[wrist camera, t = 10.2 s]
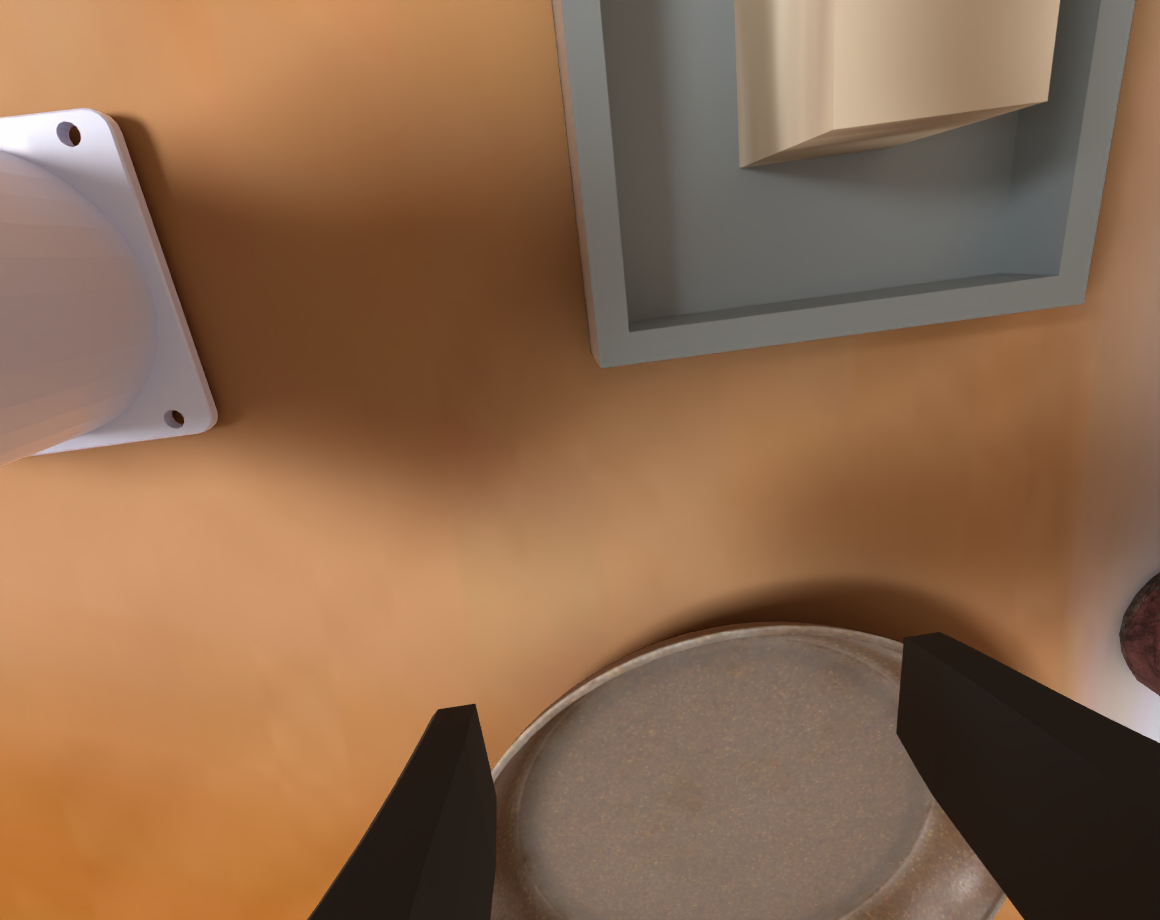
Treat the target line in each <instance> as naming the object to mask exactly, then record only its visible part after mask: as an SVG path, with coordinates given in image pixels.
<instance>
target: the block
mask: <svg viewBox="0 0 1160 920" xmlns="http://www.w3.org/2000/svg"><path fill="white" fill-rule="evenodd" d="M1059 5H1060V0H734V12H735V43H736V74H737V105H738V135H739V166H740V168H745V167H752V166H760V165H767V164H775V163H782V162H789V161H797V160H804V159H812V158H819V157H826V156H834V155H841V154H849V153H856V152H864V151H871V150H878V149H886V148H891V147H894V146H898V145H901V144H904V143H908V142H911V141H915V140H918V139H921V138H925V137H928V136H931V135H935V134H938V133H942V132H945V131H948V130H952V129H955V128H958V127H962V126H965V125H969V124H972V123H975V122H979V121H982V120H985V119H989V118H992V117H995V116H999V115H1002V114H1006V113H1009V112H1012V111H1016V110H1019V109H1022V108H1026V107H1029V106H1033V105H1036V104H1039V103H1043V102H1046V101H1048V93H1049V85H1050V77H1051V69H1052V61H1053V53H1054V45H1055V37H1056V29H1057V21H1058V13H1059Z"/></svg>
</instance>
